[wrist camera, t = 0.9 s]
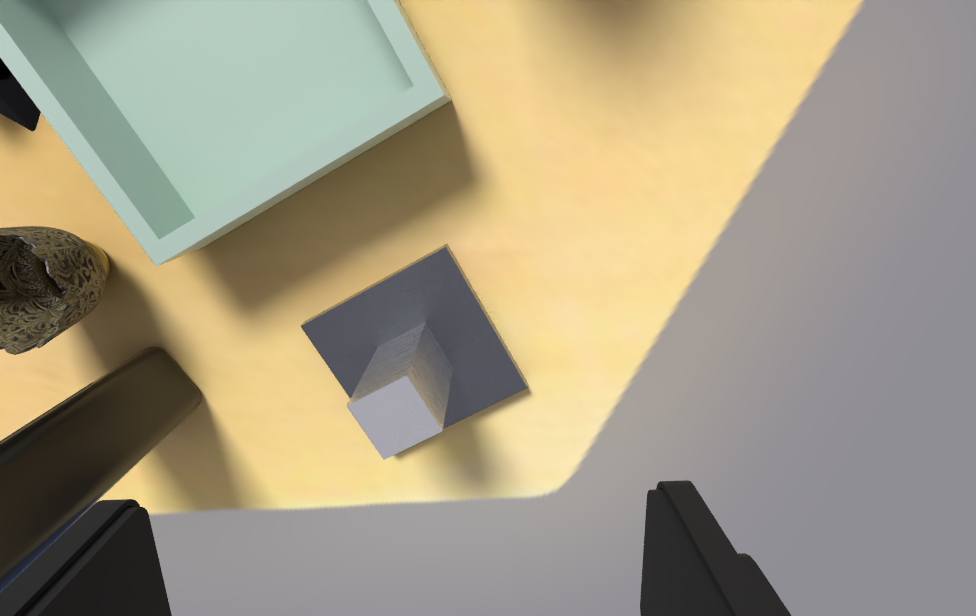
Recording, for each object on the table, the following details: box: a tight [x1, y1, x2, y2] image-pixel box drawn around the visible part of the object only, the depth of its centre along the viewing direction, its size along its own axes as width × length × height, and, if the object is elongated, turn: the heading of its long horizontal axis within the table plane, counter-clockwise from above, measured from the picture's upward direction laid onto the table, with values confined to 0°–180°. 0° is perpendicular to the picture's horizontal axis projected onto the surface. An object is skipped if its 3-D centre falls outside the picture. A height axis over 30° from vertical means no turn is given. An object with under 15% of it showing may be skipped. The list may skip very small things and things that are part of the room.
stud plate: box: [301, 244, 527, 428], centre depth 39 cm, size 12×12×5 cm
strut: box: [347, 322, 453, 459], centre depth 36 cm, size 4×4×9 cm
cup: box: [0, 226, 110, 355], centre depth 36 cm, size 8×7×8 cm
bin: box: [0, 0, 452, 266], centre depth 32 cm, size 20×20×6 cm
